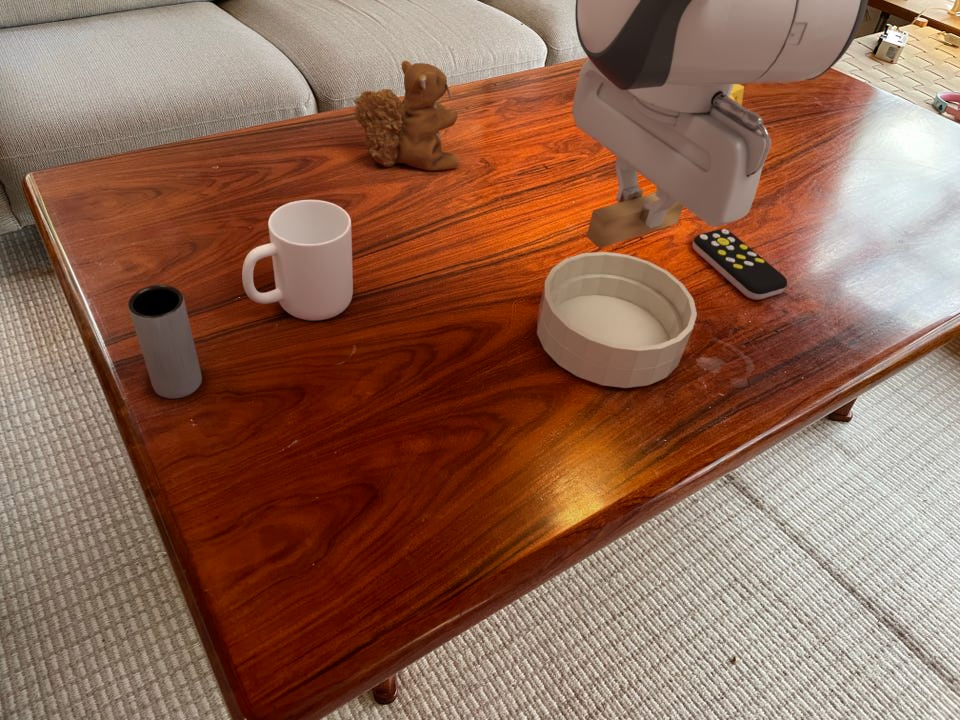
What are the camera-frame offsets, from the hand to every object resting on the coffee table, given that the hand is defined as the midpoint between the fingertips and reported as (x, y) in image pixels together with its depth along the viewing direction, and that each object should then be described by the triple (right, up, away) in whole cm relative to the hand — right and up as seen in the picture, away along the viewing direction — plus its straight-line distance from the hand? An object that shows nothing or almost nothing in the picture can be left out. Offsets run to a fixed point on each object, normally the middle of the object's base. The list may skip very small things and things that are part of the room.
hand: (638, 213), depth 69 cm
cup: (-35, -8, +12) cm, 38 cm away
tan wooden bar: (0, -1, +1) cm, 2 cm away
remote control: (+18, -2, +25) cm, 31 cm away
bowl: (-1, -11, +13) cm, 17 cm away
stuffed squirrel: (-26, +15, +37) cm, 48 cm away
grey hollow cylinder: (-44, -16, +2) cm, 47 cm away
